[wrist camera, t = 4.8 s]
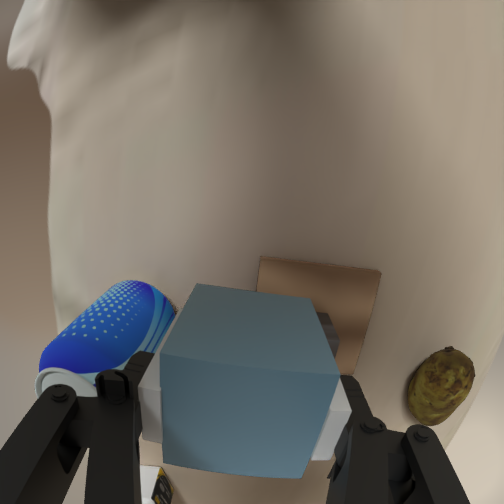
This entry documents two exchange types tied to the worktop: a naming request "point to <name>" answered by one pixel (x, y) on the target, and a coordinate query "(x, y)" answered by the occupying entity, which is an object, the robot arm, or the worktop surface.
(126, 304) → the beer can
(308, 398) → the light blue chamfered box
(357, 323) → the tan square panel
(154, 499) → the medicine bottle
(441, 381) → the brown oval lump
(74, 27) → the worktop surface
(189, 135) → the worktop surface
